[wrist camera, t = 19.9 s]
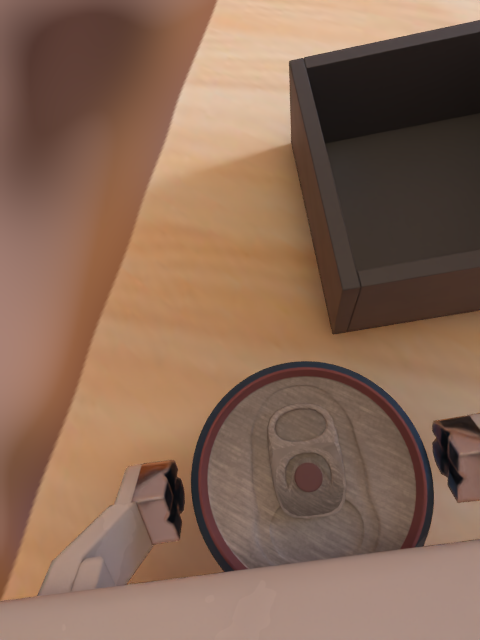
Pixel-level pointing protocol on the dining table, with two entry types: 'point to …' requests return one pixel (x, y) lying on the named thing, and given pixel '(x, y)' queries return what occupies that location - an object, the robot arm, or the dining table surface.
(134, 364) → the dining table surface
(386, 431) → the soda can
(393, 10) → the dining table surface
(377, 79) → the tub
